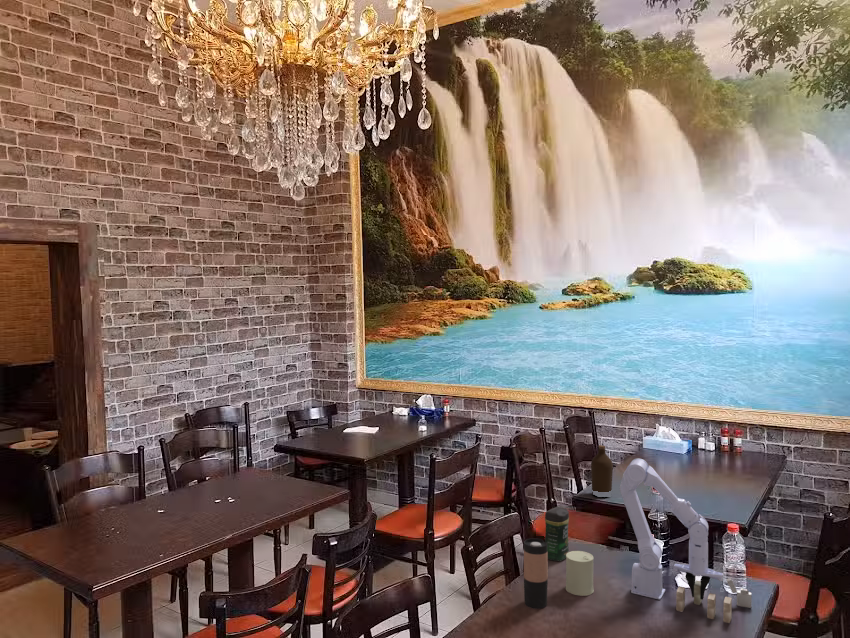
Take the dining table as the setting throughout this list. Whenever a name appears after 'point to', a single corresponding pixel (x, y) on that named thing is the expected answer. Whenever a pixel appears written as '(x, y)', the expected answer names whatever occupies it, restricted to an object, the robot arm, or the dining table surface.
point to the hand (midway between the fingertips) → (697, 597)
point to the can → (579, 573)
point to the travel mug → (535, 573)
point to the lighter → (741, 595)
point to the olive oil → (601, 471)
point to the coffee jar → (557, 533)
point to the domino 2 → (697, 592)
